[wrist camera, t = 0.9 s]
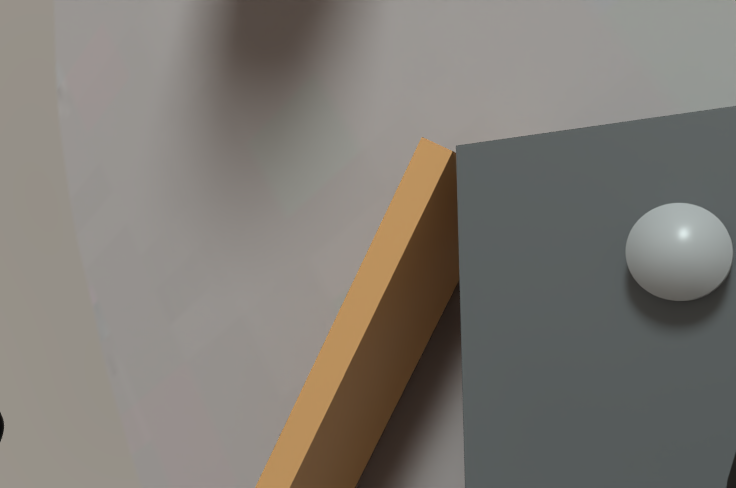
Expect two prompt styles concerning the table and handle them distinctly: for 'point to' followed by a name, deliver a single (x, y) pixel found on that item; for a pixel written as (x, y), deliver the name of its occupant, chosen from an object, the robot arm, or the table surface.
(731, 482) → the robot arm
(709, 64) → the table surface
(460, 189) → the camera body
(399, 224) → the side door
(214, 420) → the table surface
